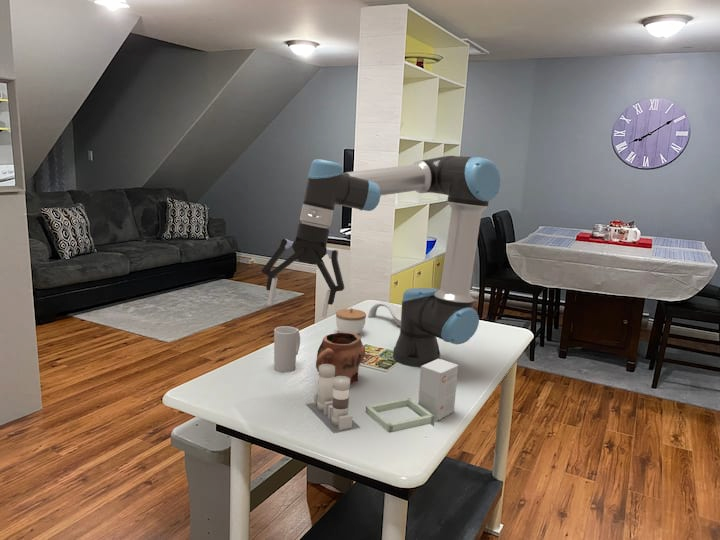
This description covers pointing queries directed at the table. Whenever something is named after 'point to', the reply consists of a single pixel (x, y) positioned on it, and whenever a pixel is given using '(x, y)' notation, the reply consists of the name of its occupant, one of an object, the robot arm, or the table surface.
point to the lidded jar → (350, 320)
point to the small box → (438, 387)
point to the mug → (286, 348)
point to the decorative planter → (342, 354)
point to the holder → (329, 401)
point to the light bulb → (340, 398)
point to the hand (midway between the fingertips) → (296, 310)
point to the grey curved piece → (392, 308)
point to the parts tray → (423, 419)
